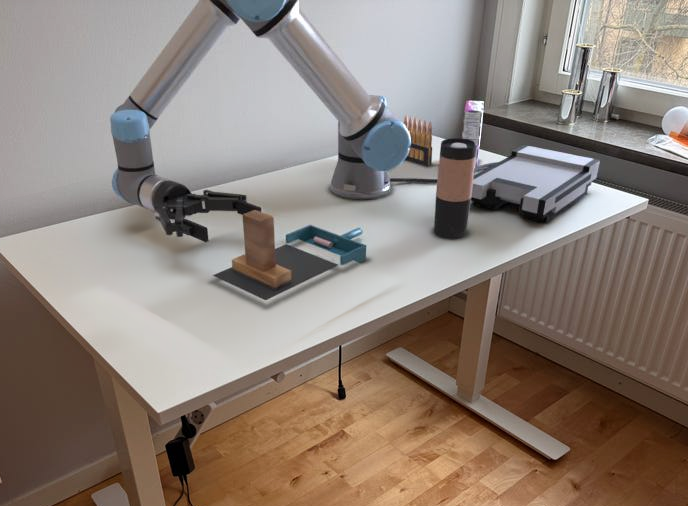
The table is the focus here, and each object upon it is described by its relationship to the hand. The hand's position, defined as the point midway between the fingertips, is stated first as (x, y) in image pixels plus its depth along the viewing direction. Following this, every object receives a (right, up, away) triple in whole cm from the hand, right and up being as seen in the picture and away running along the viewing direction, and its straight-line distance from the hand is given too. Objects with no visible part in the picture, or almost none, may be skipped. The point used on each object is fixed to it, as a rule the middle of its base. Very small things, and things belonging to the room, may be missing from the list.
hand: (234, 224), depth 135 cm
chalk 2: (+17, -5, +8) cm, 20 cm away
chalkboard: (+8, -10, +4) cm, 13 cm away
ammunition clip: (+42, +30, +65) cm, 83 cm away
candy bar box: (+57, +28, +62) cm, 89 cm away
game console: (+68, +14, +40) cm, 79 cm away
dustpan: (+20, -2, +15) cm, 25 cm away
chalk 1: (+17, -1, +15) cm, 23 cm away
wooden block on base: (+5, -10, +1) cm, 11 cm away
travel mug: (+45, +2, +23) cm, 51 cm away
